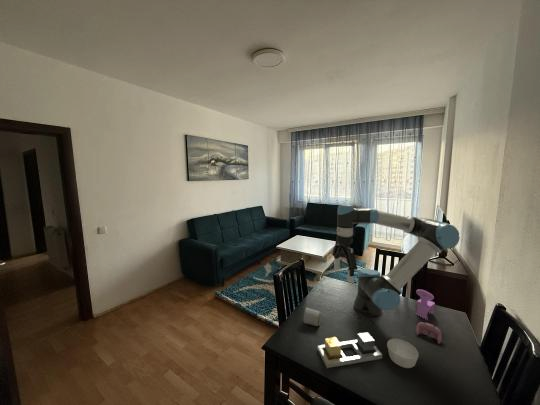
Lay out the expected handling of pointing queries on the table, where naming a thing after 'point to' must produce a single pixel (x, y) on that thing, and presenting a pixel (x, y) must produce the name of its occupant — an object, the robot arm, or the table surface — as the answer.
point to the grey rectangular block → (365, 343)
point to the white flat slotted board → (349, 360)
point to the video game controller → (435, 331)
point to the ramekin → (402, 353)
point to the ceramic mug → (312, 317)
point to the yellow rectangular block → (332, 348)
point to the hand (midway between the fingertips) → (343, 275)
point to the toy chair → (424, 303)
